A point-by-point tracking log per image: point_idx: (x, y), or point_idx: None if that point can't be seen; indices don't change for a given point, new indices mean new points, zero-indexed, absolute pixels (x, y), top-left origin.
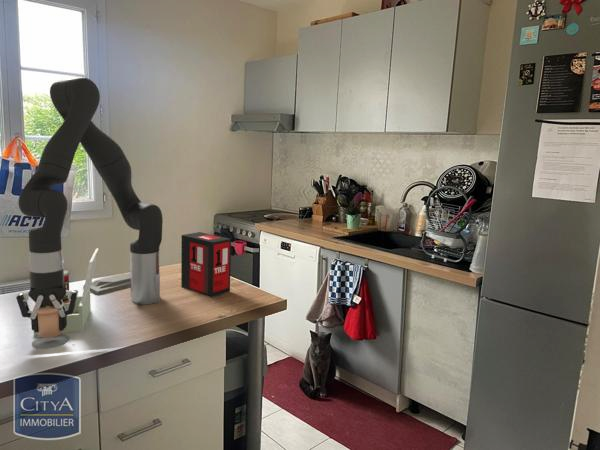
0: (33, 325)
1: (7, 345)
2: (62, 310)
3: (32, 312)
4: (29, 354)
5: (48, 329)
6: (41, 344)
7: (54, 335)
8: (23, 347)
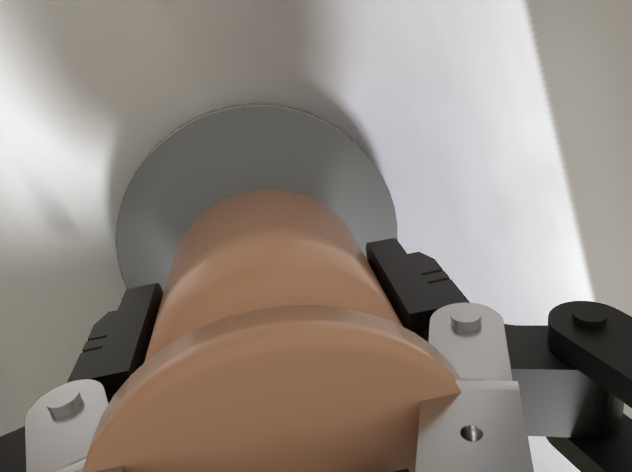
0: (427, 279)
1: (560, 211)
2: (38, 468)
3: (504, 364)
4: (352, 38)
5: (240, 224)
6: (307, 177)
7: (197, 223)
8: (441, 174)
